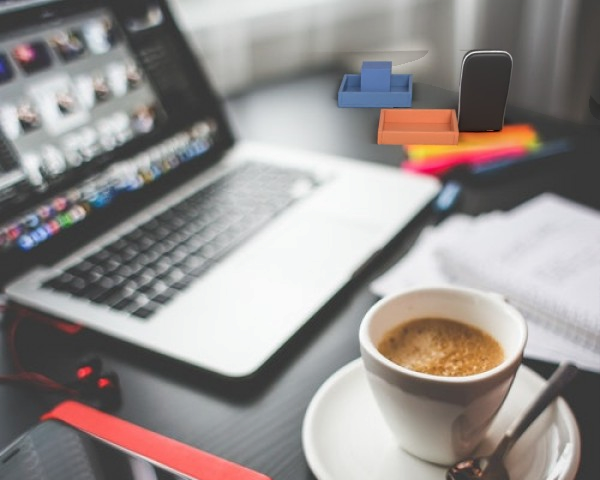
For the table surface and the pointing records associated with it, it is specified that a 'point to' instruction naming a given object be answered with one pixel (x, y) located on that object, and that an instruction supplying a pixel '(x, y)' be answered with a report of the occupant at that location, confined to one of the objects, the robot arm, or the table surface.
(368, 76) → the blue block
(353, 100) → the blue tray
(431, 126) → the orange tray
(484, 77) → the battery charger
